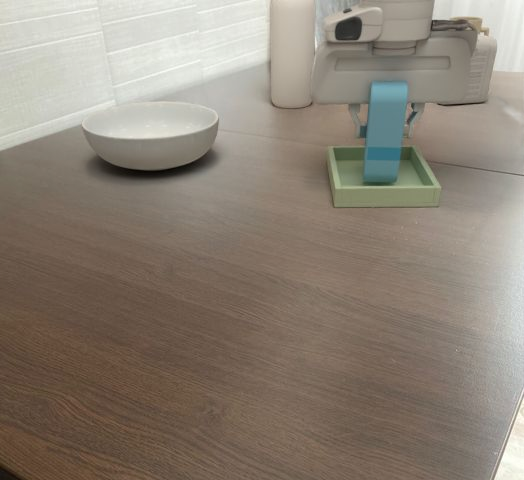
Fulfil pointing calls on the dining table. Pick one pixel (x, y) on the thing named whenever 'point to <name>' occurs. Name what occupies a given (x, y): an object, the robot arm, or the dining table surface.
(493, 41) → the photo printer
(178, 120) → the serving bowl
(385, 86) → the data package
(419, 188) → the shallow green tray
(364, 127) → the robot arm
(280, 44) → the alcohol
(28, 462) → the dining table surface
